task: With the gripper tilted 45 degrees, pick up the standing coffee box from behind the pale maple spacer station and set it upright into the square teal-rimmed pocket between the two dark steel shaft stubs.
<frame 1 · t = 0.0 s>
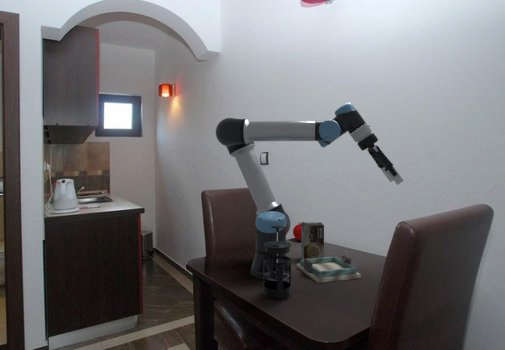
hand: (396, 181, 137), 36 cm above the table, tool tilted 35°, fingers open, 13 cm apart
french press: (277, 295, 115), on the table
coffee box: (312, 260, 154), on the table
spacer station: (327, 272, 138), on the table
tomato: (302, 241, 189), on the table
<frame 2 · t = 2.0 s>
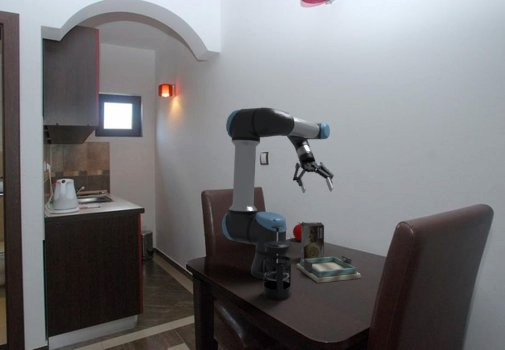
hand: (318, 190, 163), 30 cm above the table, tool tilted 45°, fingers open, 13 cm apart
nothing on the table moved.
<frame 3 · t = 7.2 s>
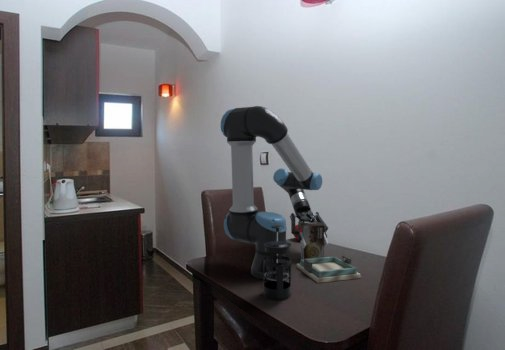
hand: (315, 245, 151), 7 cm above the table, tool tilted 45°, fingers closed on coffee box, 10 cm apart
coffee box: (312, 260, 155), on the table, touching gripper
everything else where it was.
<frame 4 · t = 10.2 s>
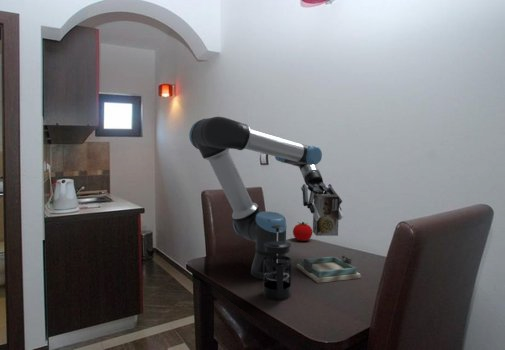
hand: (329, 218, 140), 21 cm above the table, tool tilted 45°, fingers closed on coffee box, 10 cm apart
coffee box: (324, 234, 144), point 14 cm above the table, touching gripper
everything else where it was.
when the fingers open (9 cm above the table, at t = 13.5 s): coffee box stays where it is, resting on spacer station.
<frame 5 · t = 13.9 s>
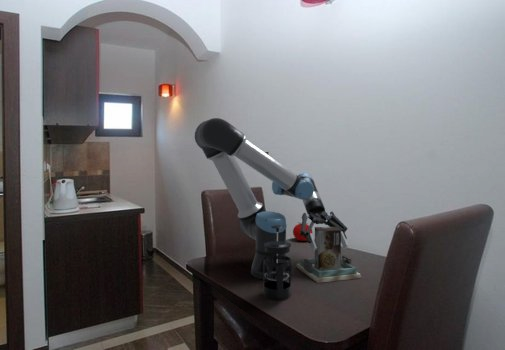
hand: (330, 248, 135), 10 cm above the table, tool tilted 45°, fingers open, 13 cm apart
coffee box: (327, 269, 138), point 1 cm above the table, touching spacer station
everything else where it was.
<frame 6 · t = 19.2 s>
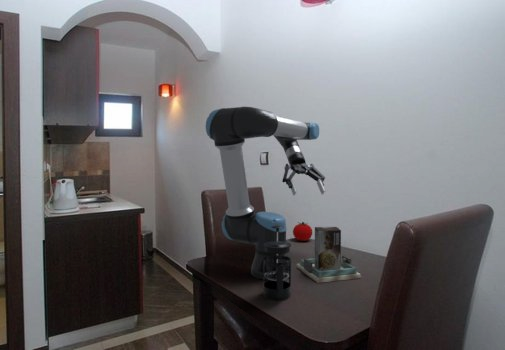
hand: (309, 193, 152), 30 cm above the table, tool tilted 45°, fingers open, 13 cm apart
nothing on the table moved.
at the end: coffee box 0.1 cm off-centre on the spacer station, point 1.3 cm above the spacer station's base; coffee box tilted 0°; the gripper is holding nothing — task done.
